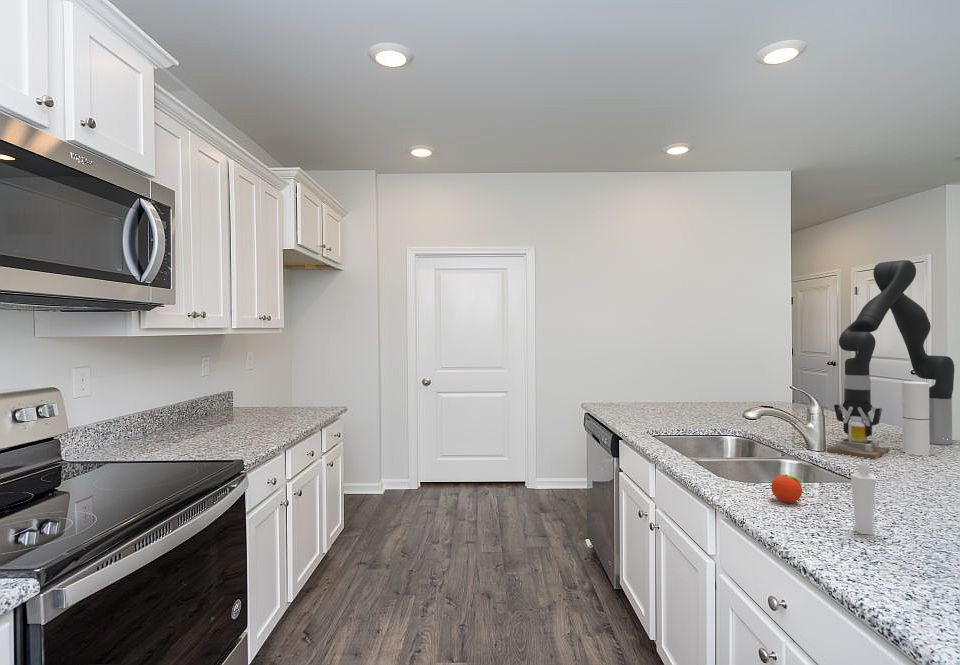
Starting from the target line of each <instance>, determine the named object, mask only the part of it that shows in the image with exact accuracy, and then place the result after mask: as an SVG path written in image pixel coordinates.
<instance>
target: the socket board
mask: <svg viewBox="0 0 960 665" xmlns="http://www.w3.org/2000/svg"><path fill="white" fill-rule="evenodd" d="M826 452H827V453H830V452H831V453H832V454H836V453H838V455H842V454H844V455H843V456H848V455H851V456H850V457H854V456H857V457H856V458H860V457H864V458H863V459H866V458H870V459H869V460H872V459H875V460H877V459H879V458H881V457H883V456H882V455H884V454H886V453H888V452H889V453H890V449H889V448H887V447H880V446H879V441H877V440H869V439H867V444H859V443H852V442H848V436H846V437H843V438H840V439H838V440H836V444H834V445H830V446H828V447H826ZM831 453H830V454H831ZM889 453H888V454H889ZM886 455H887V454H886ZM880 456H881V457H880ZM884 456H885V455H884ZM878 457H879V458H878ZM876 458H877V459H876Z"/></svg>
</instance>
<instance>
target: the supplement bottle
mask: <svg viewBox="0 0 960 665" xmlns="http://www.w3.org/2000/svg"><path fill="white" fill-rule="evenodd" d="M866 426H867V425H866V423H865V421H864V420H863V418H862V417H859V416H851V418H850V421H849V423H848V434H847V437H848V442H852V443H859V444H867V440H868V437H867V436H866Z"/></svg>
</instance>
